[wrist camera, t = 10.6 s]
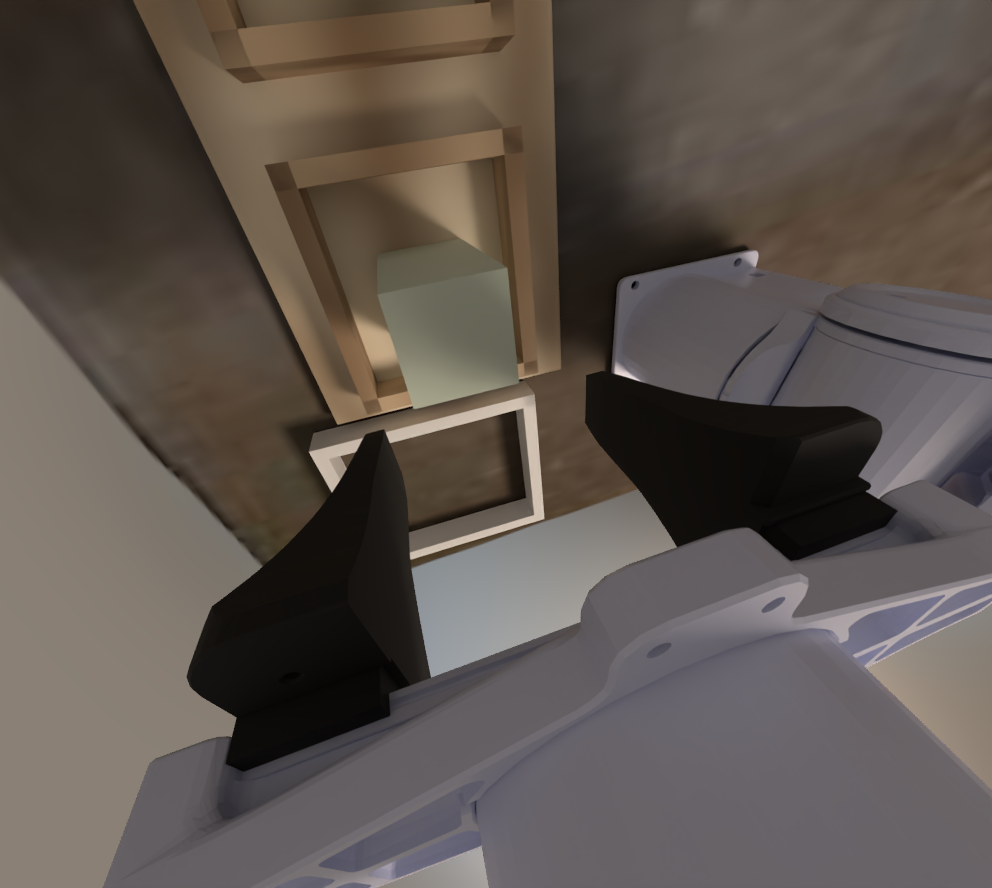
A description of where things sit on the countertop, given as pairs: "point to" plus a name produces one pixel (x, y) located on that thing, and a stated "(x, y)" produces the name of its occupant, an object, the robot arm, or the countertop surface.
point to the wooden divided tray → (376, 158)
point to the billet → (448, 320)
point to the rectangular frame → (439, 417)
